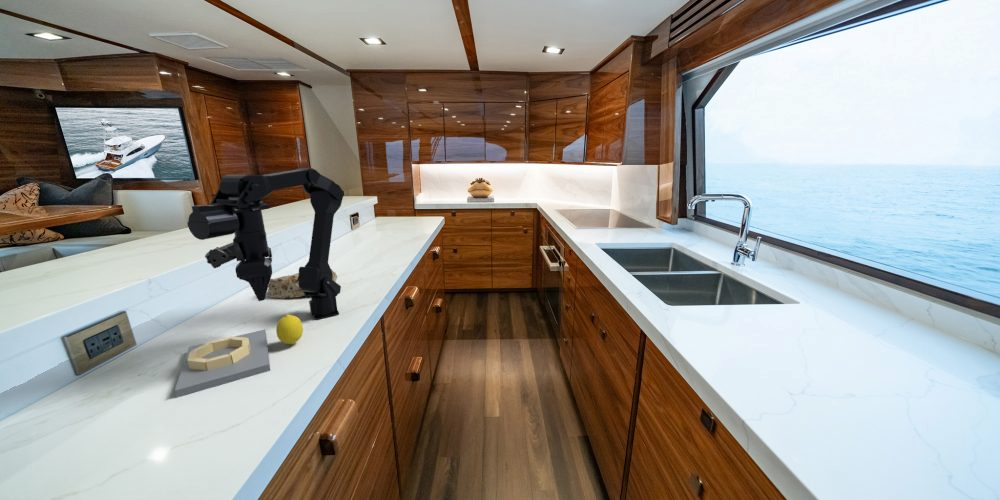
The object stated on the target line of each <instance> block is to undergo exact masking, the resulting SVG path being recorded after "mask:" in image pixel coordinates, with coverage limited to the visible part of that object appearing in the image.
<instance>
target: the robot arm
mask: <svg viewBox="0 0 1000 500" xmlns="http://www.w3.org/2000/svg"><path fill="white" fill-rule="evenodd" d="M296 186H301V187H302V190H303V191H304V192H305V193H306V194H308V195H309V196H310V204H311V207H312V208H313V211H314V216H313V217H314V219H313V225H312V233H311V241H310V249H309V257H308V261H307V262H306V264H305V265H304V266H299V268H298V273H299V276H298V279H297V281H299V287H300V288H301V290H303V292H304V294H305V296H306V297H307V296H309V297H310V299H309V301H308V304H309V311H310V315H311V316H312V317H313V319H314V320H316V321H317V320H320V319H326V318H328V317H334V316H337V315H340V312H339V310H338V305H337V304H338V303H337V297H338V295H339V294H340V293H341V289H342V286H341V285H340V284H339V283H337V281H336V282H334V281H333V273H332V270H333V269H332V268H331V266H330V264H329V256H330V250H331V243H332V242H331V241H332V233H333V225H334V217H335V214H336V212H337V211H338V210H339V209H340V208H341V207H342V202H343V198H344V190H343V189H342V187H341V186H340V185H339V184H337V183H336V182H335V181H334V180H332V179H331V178H328V177H326V176H325V175H323V174H321V173H320V172H319V171H317V170H316V169H315V168H312V167H299V168H296V169H292V170H286V171H281V172H280V171H279V172H273V173H267V174H262V175H261V174H260V175H259V174H227V175H224V176H222V177H221V178H220V181H219V186H218V188H217V190H216V192H215V194H214V196H213V198H212V200H211V202H210V204H207V205H205V204H204V205H201V204H200V205H199V204H197V205H192V206H191V209H192V212H191V213H190V214H189V216H188V221H187V227H188V229H189V231H190V233H191V235H192V236H193V237H194V238H196V239H197V240H201V241H204V240H209V239H214V238H219V237H225V236H229V235H233V234H234V238H233V239H232V242H230V243H227V244H224V245H222V246H219V247H218V246H216V247H215V248H213V249H209V250H208V251H207V253H205V255H204V258H205V259H206V260H207V261H206V263H207V264H210V266H211V267H212V268H213V269H217V268H220V267H222V266H223V265H224V264H227V263H229V262H231V261H234V260H235V259H236V262H238V263H237V265H236V266H235V274H236V278H237V279H239V280H241V281H242V280H243V281H244V282H247V283H248V284H249V286H250V287H251V289H252V291H253V293H254V295H255V297H256V299H257V301H258V302H263V301H265V299H266V296H267V293H268V289H269V288H268V286H269V282H270V279H272V275H273V266H272V261H273V254H272V253H273V251H272V248H271V247H270V246H269V244H268V240H267V239H268V238H267V233H266V229H265V222H264V216H263V212H262V211H263V210H267V209H270V208H271V206H270V205H269V204H268V203H267V202H266V203H265V202H264V200H262V199H263V198H266V197H268V196H269V195H271V193H273V192H275V191H280V190H283V189H289V188H292V187H296ZM331 269H332V270H331Z"/></svg>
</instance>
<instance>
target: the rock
mask: <svg viewBox="0 0 1000 500" xmlns="http://www.w3.org/2000/svg"><path fill="white" fill-rule="evenodd" d="M331 270H332V273H333V281H334V282H336V283H337V279H338V275H337V274H336V272H335V271H334V270H333V268H331ZM298 276H299V272H297V273H294V274H290V275H289V274H288V275H284V276H283V275H282V276H279V277H276V278H271V279H270V282H269V286H268V289H267V296H268V297H269V298H271V299H277V298H278V299H286V298H291V299H292V298H301V297H304V296H305V294H304V292H303V290H301V288H300V287H299V281H297V279H298Z"/></svg>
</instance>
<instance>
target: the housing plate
mask: <svg viewBox="0 0 1000 500" xmlns="http://www.w3.org/2000/svg"><path fill="white" fill-rule="evenodd" d="M267 338H268V337H267V332H266V329H265V328H264V329H261V330H255V331H252V332H248V333H244V334H243V333H242V334H238V335H235V336H229V337H225V338H220V339H216V340H211V341H208V342H205V343H199V344H196V345H190V346H188V348H187V351H186V355H185V357H184V360H183V363H182V366H181V370H180V372H179V377H178V379H177V382H176V385H175V388H174V393H175V397H176V398H179V397H183V396H186V395H190V394H193V393H197V392H201V391H204V390H206V389H210V388H215V387H218V386H221V385H224V384H227V383H231V382H234V381H239V380H241V379H245V378H249V377H252V376H255V375H256V376H257V375H259V374H263V373H266V372H269V371H270V372H271V363H270V354H269V347H268V339H267Z"/></svg>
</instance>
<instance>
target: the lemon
mask: <svg viewBox="0 0 1000 500" xmlns="http://www.w3.org/2000/svg"><path fill="white" fill-rule="evenodd" d="M303 326H304V325H303V323H302V321H301V319H300V318H299V317H297V316H295V315H292V314H288V313H287V314H285V315H284V316H282V317H281V318H280V319H279V320H278V322H277V324H276V327H275V328H276V336H277V338H278V340H279V341H280V342H281V343H283V344H286V345H287V344H288V345H291V346H293V345H294V344H296V343H297V342H298V341H299V340H300V339H301V338H302V336H303V332H304V327H303Z"/></svg>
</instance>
